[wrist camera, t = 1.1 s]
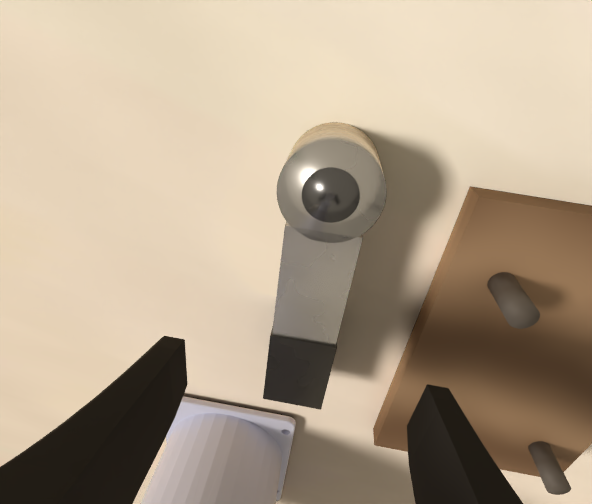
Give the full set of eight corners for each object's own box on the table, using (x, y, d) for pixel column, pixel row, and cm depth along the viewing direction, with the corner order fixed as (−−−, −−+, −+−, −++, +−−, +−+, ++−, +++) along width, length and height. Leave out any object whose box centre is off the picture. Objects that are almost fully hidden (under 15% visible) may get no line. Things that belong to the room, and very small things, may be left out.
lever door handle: (330, 365, 19) (328, 410, 16) (266, 353, 19) (255, 397, 16) (390, 130, 12) (400, 150, 10) (293, 115, 13) (281, 132, 10)
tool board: (547, 461, 20) (576, 522, 18) (373, 428, 21) (377, 483, 18) (755, 232, 13) (860, 281, 10) (470, 186, 13) (500, 222, 10)
